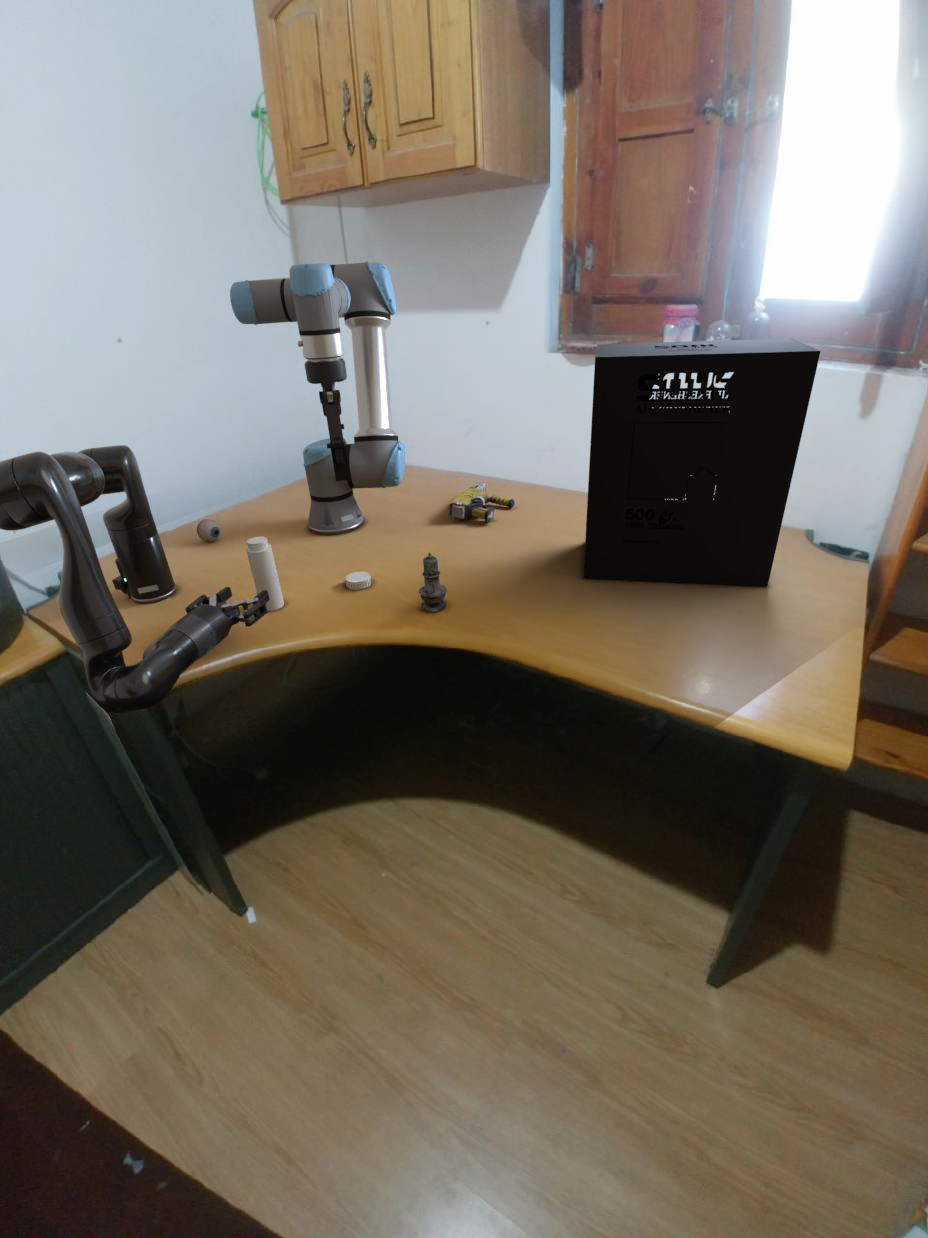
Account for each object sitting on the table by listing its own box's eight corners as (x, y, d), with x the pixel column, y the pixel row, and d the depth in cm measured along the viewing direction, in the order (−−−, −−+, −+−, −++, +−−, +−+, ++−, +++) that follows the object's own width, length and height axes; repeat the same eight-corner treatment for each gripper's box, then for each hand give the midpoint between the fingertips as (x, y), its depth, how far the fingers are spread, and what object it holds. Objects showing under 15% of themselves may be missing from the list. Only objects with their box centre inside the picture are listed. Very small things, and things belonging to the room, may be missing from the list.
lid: (348, 591, 133) (347, 584, 132) (344, 581, 138) (343, 573, 137) (373, 587, 135) (372, 579, 134) (369, 577, 139) (368, 569, 138)
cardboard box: (748, 547, 142) (790, 338, 120) (767, 586, 125) (820, 350, 103) (586, 541, 150) (597, 344, 127) (583, 577, 133) (595, 357, 110)
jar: (275, 598, 132) (259, 533, 125) (288, 604, 130) (274, 538, 122) (256, 607, 129) (239, 541, 122) (269, 613, 126) (253, 546, 119)
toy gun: (522, 487, 180) (475, 480, 184) (500, 511, 160) (447, 502, 164) (521, 502, 182) (474, 495, 186) (499, 527, 162) (447, 519, 166)
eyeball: (210, 546, 160) (204, 525, 157) (195, 542, 163) (189, 521, 160) (228, 538, 164) (223, 518, 161) (213, 535, 167) (208, 514, 164)
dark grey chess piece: (444, 613, 122) (440, 559, 116) (416, 611, 123) (411, 558, 117) (450, 599, 127) (447, 547, 121) (424, 598, 128) (419, 546, 122)
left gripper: (226, 619, 103) (275, 578, 117) (157, 612, 107) (212, 573, 120) (236, 655, 107) (283, 611, 121) (169, 647, 111) (222, 605, 124)
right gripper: (304, 353, 123) (322, 457, 134) (302, 368, 102) (324, 491, 112) (341, 350, 124) (356, 453, 135) (347, 365, 103) (364, 486, 114)
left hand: (248, 592), depth 120 cm, fingers open, 8 cm apart
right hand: (341, 470), depth 124 cm, fingers open, 13 cm apart
